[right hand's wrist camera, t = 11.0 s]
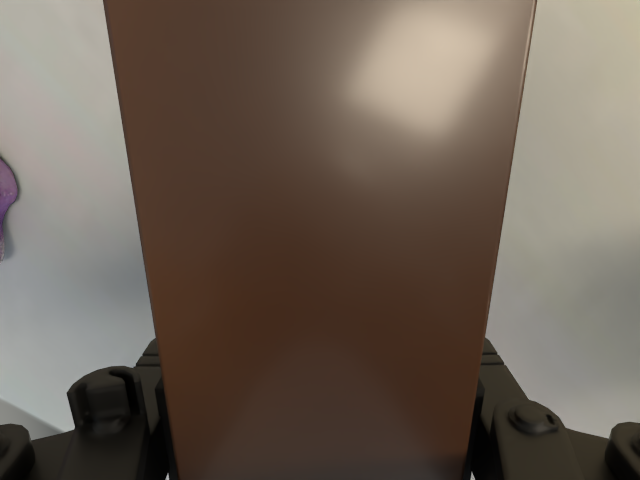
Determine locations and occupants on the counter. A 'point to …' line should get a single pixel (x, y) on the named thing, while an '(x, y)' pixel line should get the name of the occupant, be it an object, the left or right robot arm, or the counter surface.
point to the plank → (320, 223)
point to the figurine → (5, 198)
